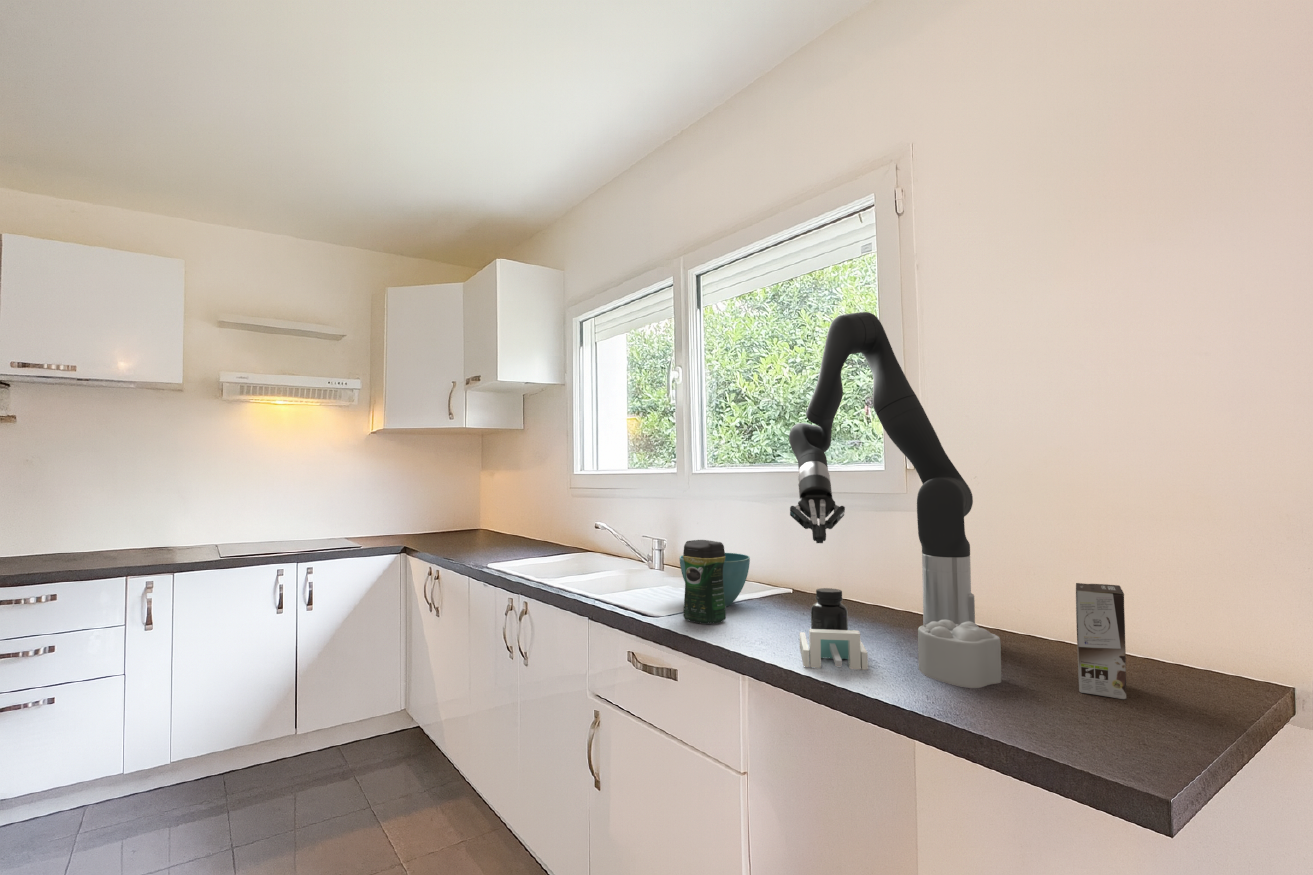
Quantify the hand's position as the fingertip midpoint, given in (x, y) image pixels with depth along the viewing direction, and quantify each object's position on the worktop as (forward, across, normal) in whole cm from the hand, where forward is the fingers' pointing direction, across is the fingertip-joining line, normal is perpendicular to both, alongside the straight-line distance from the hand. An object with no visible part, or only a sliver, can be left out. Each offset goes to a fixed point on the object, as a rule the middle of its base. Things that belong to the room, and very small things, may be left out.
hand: (820, 540), depth 149 cm
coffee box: (+38, +41, -10) cm, 57 cm away
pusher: (+34, 0, -8) cm, 35 cm away
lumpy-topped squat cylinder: (+35, +20, -8) cm, 41 cm away
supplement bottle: (+28, 0, -1) cm, 28 cm away
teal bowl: (-2, -25, +29) cm, 39 cm away
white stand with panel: (+30, 0, -3) cm, 30 cm away
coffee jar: (+11, -26, +16) cm, 33 cm away
